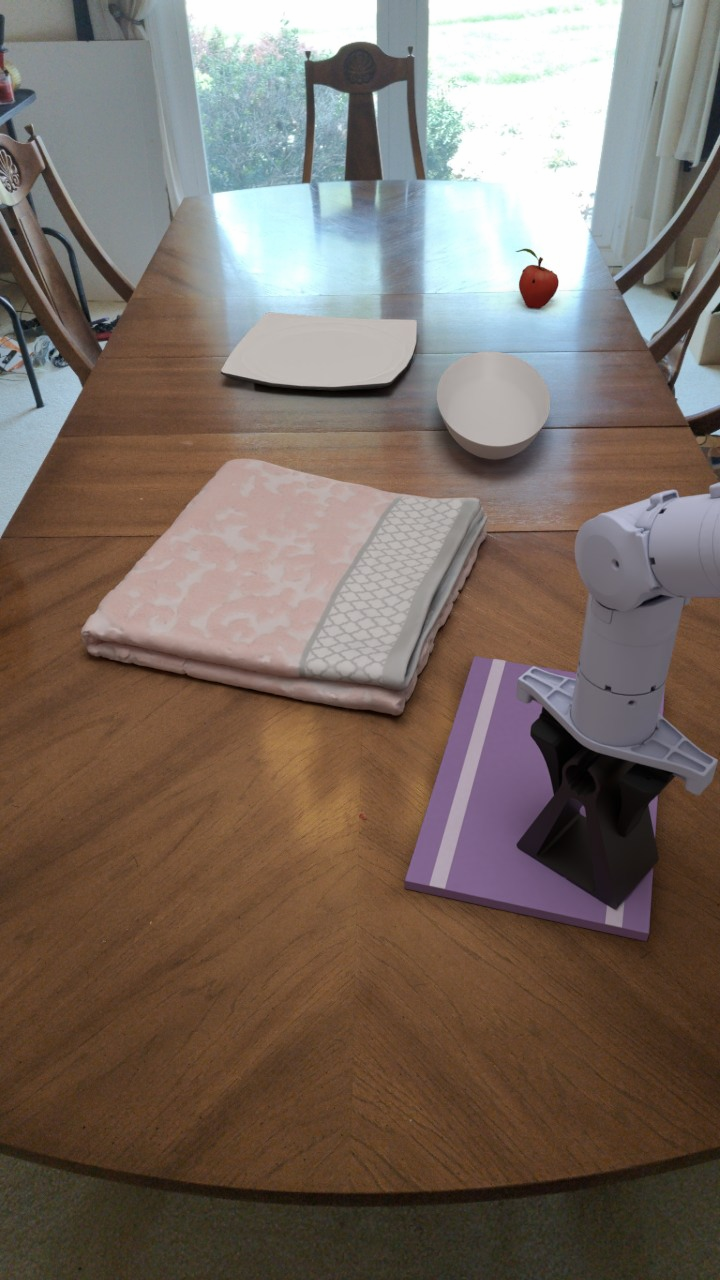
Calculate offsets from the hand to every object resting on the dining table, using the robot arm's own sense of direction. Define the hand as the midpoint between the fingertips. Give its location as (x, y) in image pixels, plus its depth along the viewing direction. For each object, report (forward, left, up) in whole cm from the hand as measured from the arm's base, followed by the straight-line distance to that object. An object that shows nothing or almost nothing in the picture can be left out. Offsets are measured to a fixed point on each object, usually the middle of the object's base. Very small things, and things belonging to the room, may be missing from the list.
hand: (595, 809), depth 73 cm
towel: (+43, -11, -6) cm, 45 cm away
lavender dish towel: (+7, -5, -6) cm, 11 cm away
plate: (+86, -58, -6) cm, 104 cm away
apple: (+75, -100, -6) cm, 126 cm away
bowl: (+50, -54, -6) cm, 74 cm away
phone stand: (0, 0, -5) cm, 5 cm away
